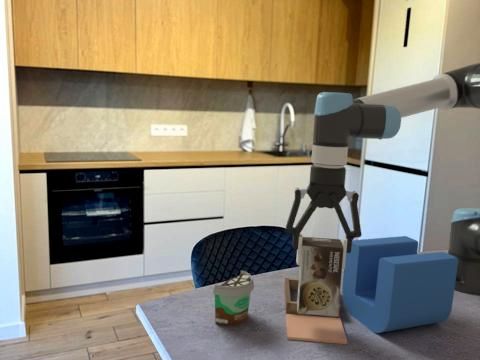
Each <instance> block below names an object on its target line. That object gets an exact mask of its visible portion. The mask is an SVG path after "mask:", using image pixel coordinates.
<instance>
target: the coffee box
mask: <svg viewBox="0 0 480 360" xmlns="http://www.w3.org/2000/svg"><path fill="white" fill-rule="evenodd" d="M302 237H303V238H302V251H301V264H300V265H299V267H298V269H299V270H298V279H299V282H298V290H297V298H296V302H297V311H298V313H299V314H311V315H324V316H337V317H338V312H339V304H340V298H341V297H340V296H341V286H342V273H343V268H342V262H343V251H344V248H343V245H342V239H338V238H325V237H314V236H313V237H311V236H302Z"/></svg>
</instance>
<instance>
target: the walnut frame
mask: <svg viewBox="0 0 480 360" xmlns="http://www.w3.org/2000/svg"><path fill="white" fill-rule="evenodd" d="M298 282H299V278H292V277H284V283H283V290H284V305H285V307H284V308H285V315H286V314H295V315H308V316H321V317H334V318H340V319H341V317H340V316H341V304H340V303H339V312H338V317H337V316H324V315H311V314H299V313H298V311H297V301H291V291H298Z"/></svg>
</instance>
